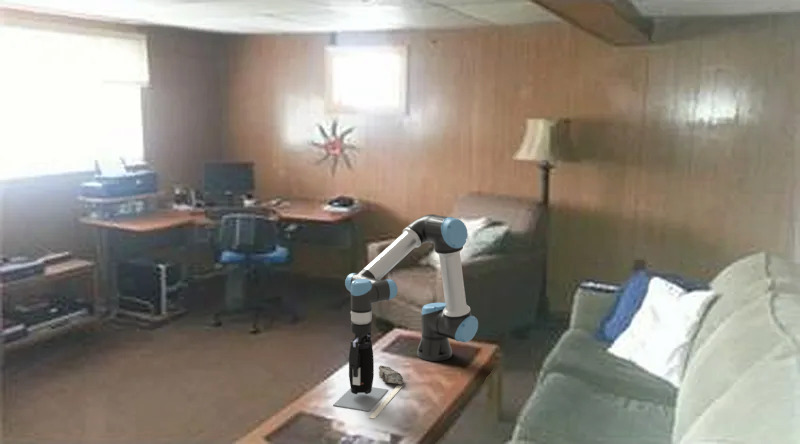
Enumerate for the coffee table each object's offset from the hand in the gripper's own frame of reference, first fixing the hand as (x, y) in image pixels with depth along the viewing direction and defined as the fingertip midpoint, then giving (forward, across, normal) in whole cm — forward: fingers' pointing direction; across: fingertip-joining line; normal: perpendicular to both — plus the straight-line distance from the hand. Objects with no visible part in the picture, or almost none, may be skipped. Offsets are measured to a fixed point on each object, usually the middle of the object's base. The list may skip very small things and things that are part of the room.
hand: (361, 379), depth 261 cm
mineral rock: (+7, -19, +5) cm, 21 cm away
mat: (+7, 0, 0) cm, 7 cm away
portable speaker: (+5, 0, 0) cm, 5 cm away
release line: (+7, 0, +10) cm, 12 cm away
